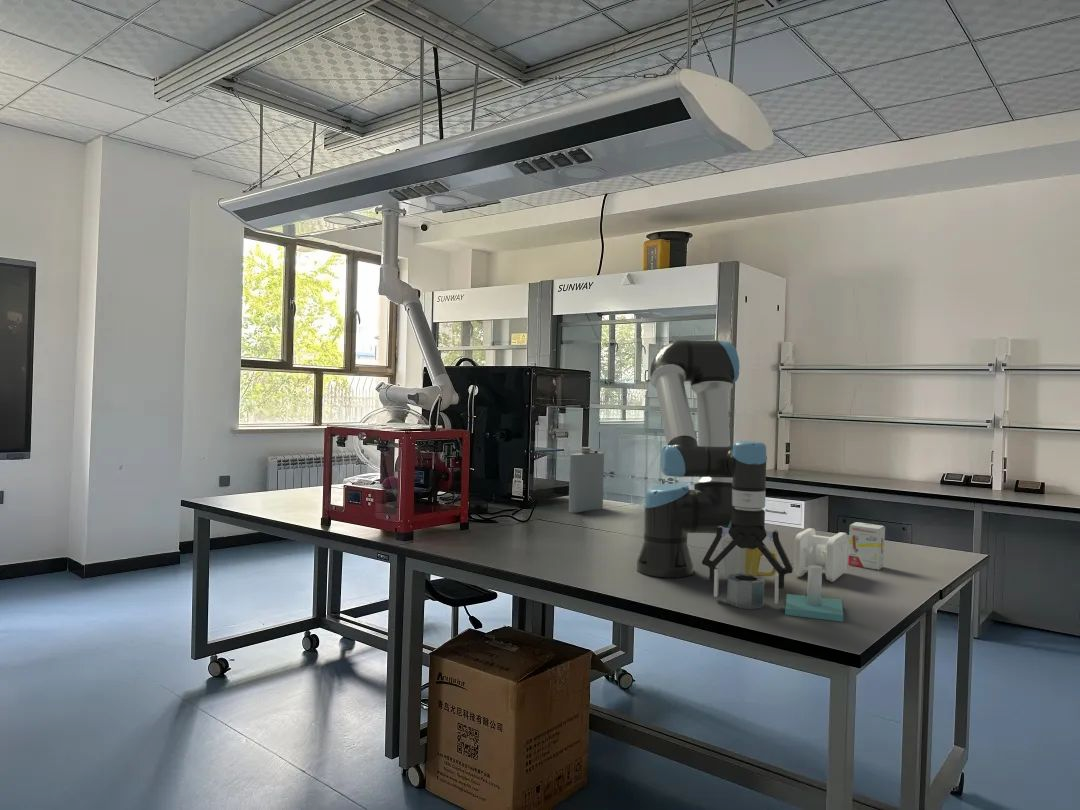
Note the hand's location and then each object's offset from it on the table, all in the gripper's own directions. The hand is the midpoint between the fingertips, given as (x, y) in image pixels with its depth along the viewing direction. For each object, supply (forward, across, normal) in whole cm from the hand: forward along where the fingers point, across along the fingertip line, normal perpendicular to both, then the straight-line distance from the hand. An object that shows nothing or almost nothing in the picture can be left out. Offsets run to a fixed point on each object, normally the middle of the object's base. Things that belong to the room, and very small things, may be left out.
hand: (745, 599), depth 173 cm
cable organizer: (+1, +17, +35) cm, 39 cm away
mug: (+1, -1, +19) cm, 19 cm away
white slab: (0, -70, +104) cm, 126 cm away
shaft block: (+1, +15, +1) cm, 15 cm away
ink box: (+1, +29, +52) cm, 60 cm away
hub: (+1, 0, 0) cm, 1 cm away
